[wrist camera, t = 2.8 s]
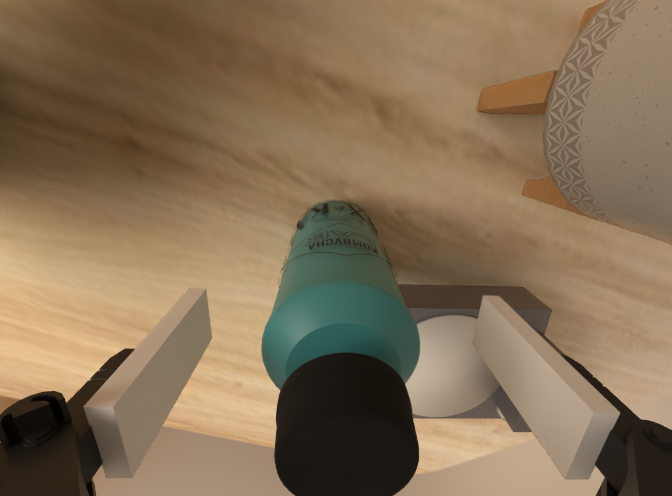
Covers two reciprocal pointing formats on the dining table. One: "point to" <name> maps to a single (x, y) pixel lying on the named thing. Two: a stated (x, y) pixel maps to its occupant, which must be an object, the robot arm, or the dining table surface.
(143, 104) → the dining table surface
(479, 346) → the robot arm
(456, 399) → the domed button base
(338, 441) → the beverage bottle
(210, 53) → the dining table surface
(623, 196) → the planter
